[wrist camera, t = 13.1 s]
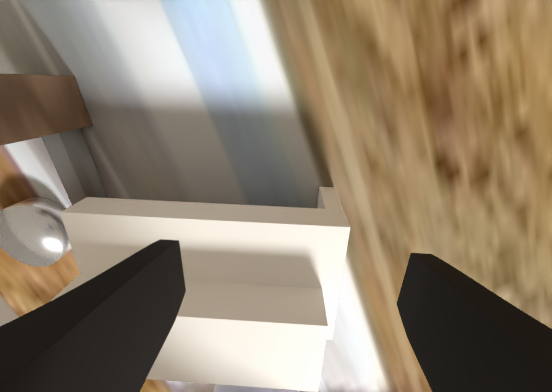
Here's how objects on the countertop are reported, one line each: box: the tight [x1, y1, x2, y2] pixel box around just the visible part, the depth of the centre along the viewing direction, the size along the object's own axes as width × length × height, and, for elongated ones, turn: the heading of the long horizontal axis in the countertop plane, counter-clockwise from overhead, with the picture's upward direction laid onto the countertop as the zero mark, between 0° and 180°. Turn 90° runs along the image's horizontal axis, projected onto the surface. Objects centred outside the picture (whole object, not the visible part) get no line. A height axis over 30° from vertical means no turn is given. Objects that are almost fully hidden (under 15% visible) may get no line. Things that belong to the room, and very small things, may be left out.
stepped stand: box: [51, 187, 350, 392], centre depth 17 cm, size 9×15×8 cm, turn 88°
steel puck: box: [0, 197, 72, 266], centre depth 20 cm, size 5×5×2 cm
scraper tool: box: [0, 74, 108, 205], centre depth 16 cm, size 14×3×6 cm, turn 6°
